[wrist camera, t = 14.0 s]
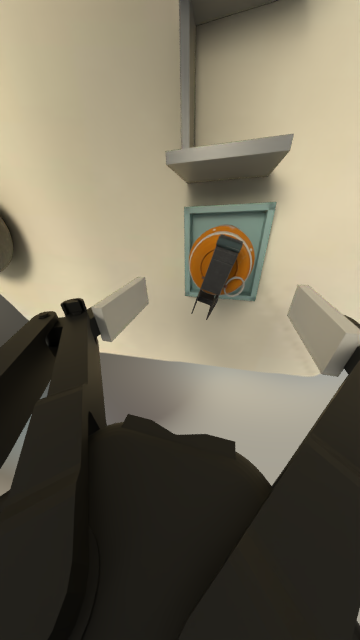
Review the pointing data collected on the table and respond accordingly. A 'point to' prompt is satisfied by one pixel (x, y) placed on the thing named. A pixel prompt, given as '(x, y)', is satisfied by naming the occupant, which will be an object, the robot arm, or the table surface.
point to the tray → (243, 216)
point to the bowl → (5, 246)
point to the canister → (220, 263)
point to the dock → (194, 162)
